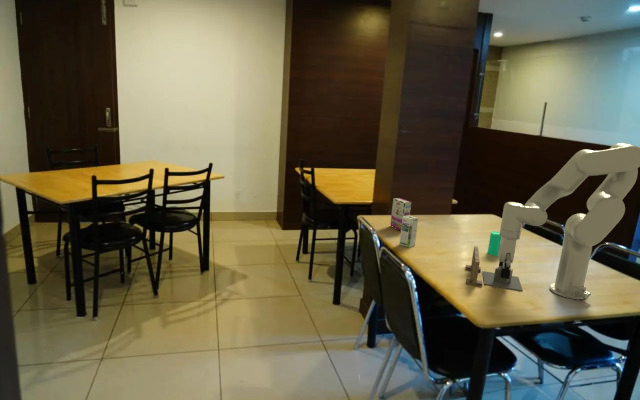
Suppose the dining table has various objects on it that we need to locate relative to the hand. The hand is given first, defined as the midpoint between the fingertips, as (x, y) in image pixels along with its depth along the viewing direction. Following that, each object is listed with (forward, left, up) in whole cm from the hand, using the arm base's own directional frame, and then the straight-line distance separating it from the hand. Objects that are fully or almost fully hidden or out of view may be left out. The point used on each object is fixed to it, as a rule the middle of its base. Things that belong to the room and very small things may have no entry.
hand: (503, 273), depth 173 cm
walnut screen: (+6, +9, -3) cm, 12 cm away
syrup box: (+46, +19, -4) cm, 50 cm away
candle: (+29, -19, -4) cm, 35 cm away
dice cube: (0, 0, -3) cm, 3 cm away
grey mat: (0, 0, -3) cm, 3 cm away
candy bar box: (+72, +10, -4) cm, 73 cm away
